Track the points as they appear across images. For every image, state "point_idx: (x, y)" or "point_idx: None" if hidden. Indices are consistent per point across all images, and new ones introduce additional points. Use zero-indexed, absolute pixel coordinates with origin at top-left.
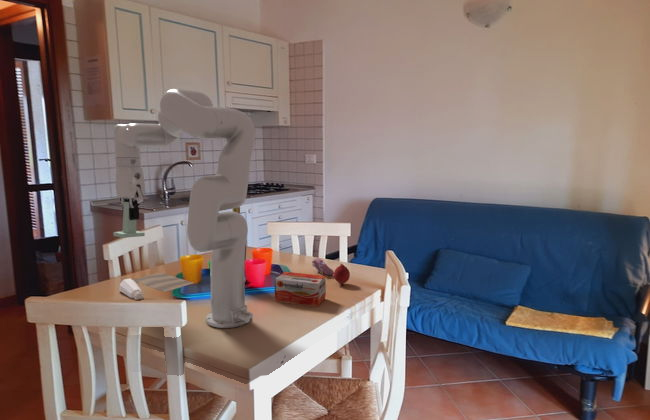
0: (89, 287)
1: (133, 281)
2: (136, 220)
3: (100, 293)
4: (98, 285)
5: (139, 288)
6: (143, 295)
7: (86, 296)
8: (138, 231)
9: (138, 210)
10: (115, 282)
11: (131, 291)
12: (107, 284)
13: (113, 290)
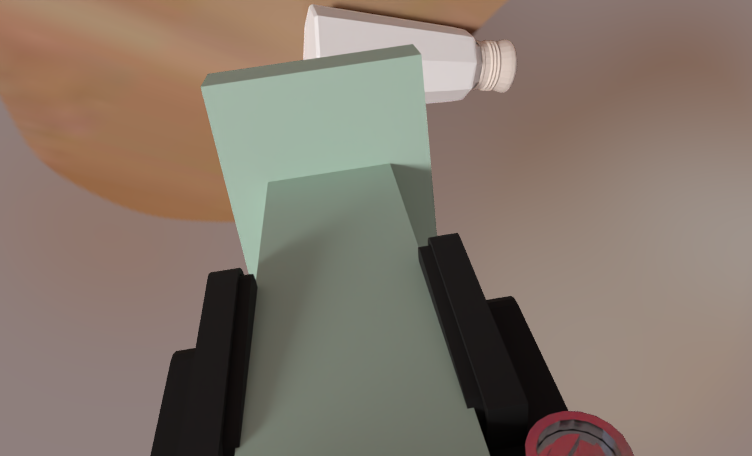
0: (56, 162)
1: (347, 40)
2: (417, 245)
3: (211, 153)
4: (41, 114)
5: (438, 36)
6: (512, 44)
7: (215, 215)
8: (289, 87)
9: (502, 348)
10: (28, 10)
11: (455, 95)
12: (49, 67)
13: (201, 84)
